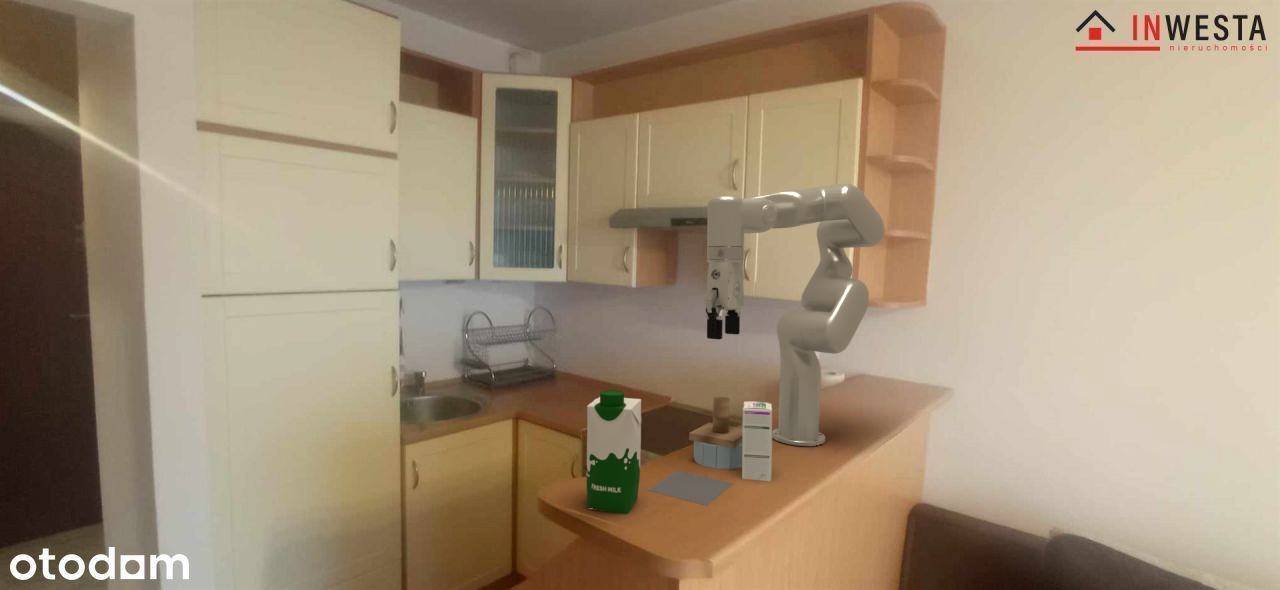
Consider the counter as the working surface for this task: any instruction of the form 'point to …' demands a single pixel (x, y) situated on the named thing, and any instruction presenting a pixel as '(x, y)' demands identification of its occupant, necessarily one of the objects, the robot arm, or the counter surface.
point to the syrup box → (757, 441)
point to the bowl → (717, 456)
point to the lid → (718, 427)
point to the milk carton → (613, 452)
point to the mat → (691, 487)
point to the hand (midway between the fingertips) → (723, 336)
